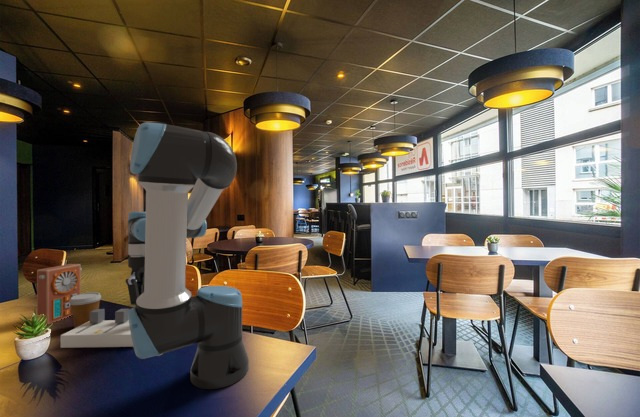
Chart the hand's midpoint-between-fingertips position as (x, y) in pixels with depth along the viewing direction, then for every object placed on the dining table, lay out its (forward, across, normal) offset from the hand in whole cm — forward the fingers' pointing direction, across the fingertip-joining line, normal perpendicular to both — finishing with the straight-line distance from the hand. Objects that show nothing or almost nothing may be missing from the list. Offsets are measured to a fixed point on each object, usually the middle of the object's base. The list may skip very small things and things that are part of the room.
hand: (141, 321), depth 96 cm
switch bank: (+6, 0, -9) cm, 11 cm away
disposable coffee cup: (+6, -10, -27) cm, 29 cm away
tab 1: (+1, -4, -18) cm, 18 cm away
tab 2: (+1, -4, -9) cm, 10 cm away
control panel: (+6, -19, -45) cm, 49 cm away
